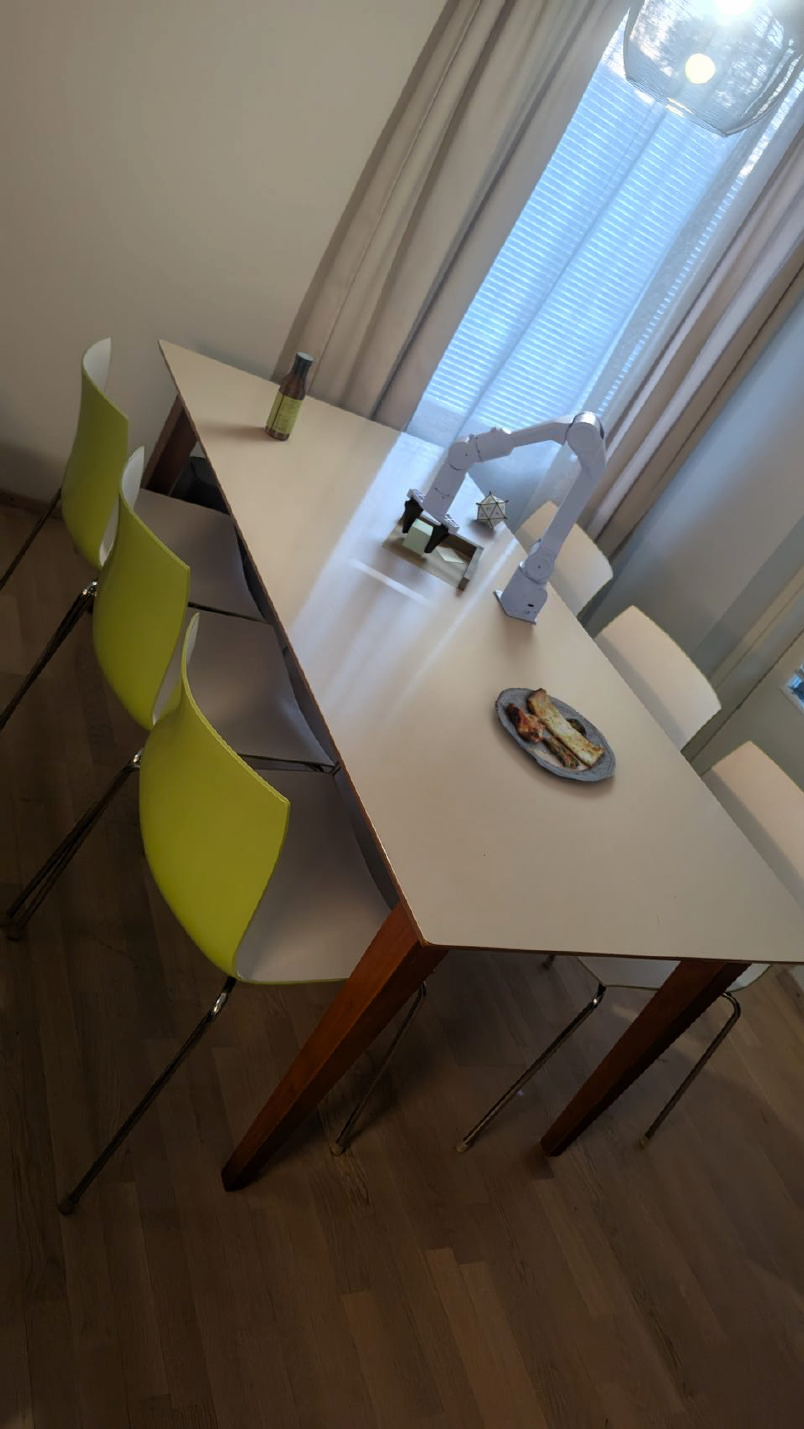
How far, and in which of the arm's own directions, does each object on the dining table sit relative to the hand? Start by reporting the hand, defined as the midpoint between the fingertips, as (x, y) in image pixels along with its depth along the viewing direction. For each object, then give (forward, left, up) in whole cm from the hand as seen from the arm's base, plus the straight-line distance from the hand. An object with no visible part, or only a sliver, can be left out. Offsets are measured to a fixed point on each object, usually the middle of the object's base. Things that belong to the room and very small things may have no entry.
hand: (416, 542), depth 230 cm
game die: (+25, -28, -2) cm, 38 cm away
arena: (-1, -4, -2) cm, 5 cm away
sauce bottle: (+39, +26, -2) cm, 47 cm away
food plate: (-60, -12, -2) cm, 61 cm away
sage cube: (0, 0, -1) cm, 1 cm away
